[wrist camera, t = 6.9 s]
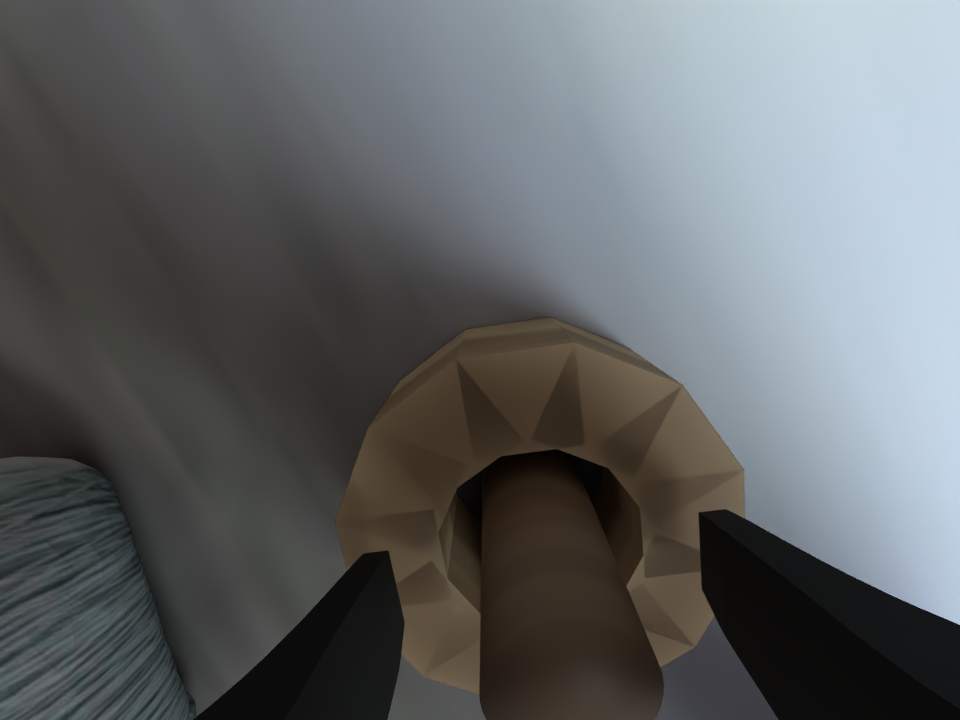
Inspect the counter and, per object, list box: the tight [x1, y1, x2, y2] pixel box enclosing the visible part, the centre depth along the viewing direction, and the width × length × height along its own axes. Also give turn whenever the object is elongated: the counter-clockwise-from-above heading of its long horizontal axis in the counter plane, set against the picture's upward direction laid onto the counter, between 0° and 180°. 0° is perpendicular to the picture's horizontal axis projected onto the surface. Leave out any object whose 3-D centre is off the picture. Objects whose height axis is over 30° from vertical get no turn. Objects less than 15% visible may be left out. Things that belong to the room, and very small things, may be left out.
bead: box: [335, 317, 745, 695], centre depth 13 cm, size 10×10×4 cm
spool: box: [0, 456, 197, 720], centre depth 13 cm, size 14×10×10 cm
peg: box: [479, 449, 664, 720], centre depth 11 cm, size 3×3×8 cm
